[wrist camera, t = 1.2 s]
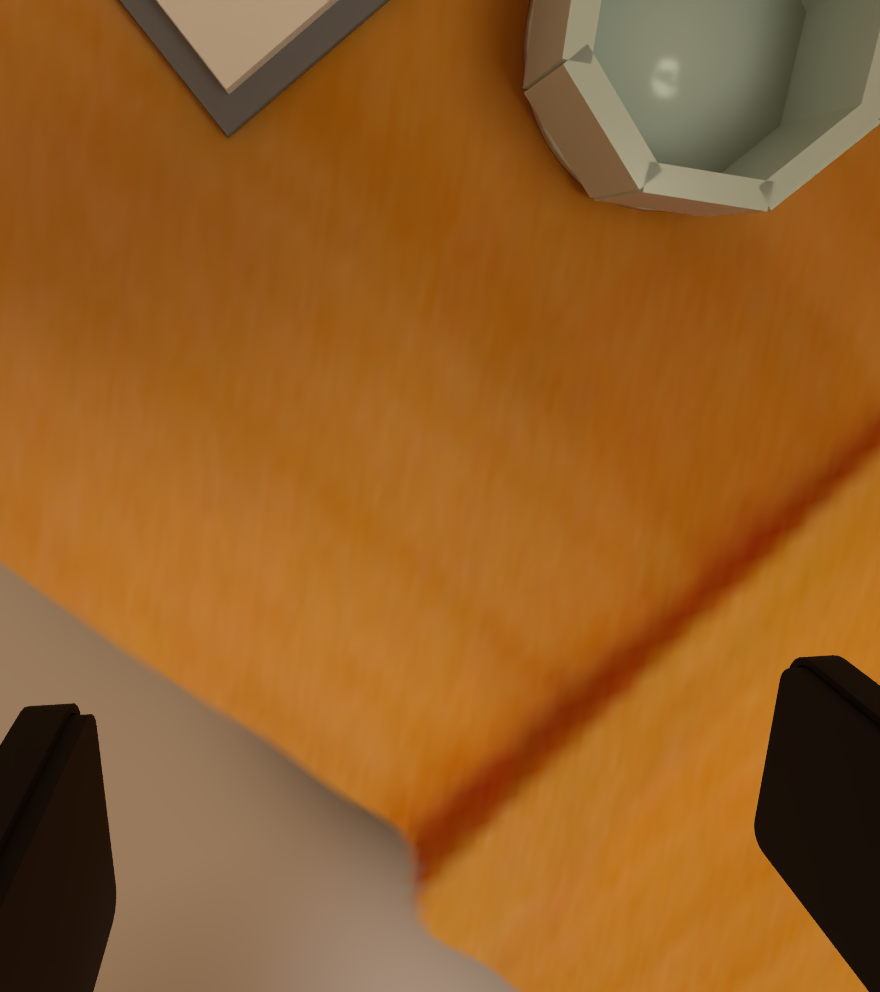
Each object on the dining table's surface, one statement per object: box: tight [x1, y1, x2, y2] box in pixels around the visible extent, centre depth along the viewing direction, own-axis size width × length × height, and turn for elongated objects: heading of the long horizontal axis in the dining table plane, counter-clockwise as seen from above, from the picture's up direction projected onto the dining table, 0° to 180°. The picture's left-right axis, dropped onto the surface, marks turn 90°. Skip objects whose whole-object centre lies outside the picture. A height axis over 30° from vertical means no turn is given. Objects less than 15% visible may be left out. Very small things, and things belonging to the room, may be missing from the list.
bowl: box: [523, 0, 880, 217], centre depth 29 cm, size 12×12×6 cm
